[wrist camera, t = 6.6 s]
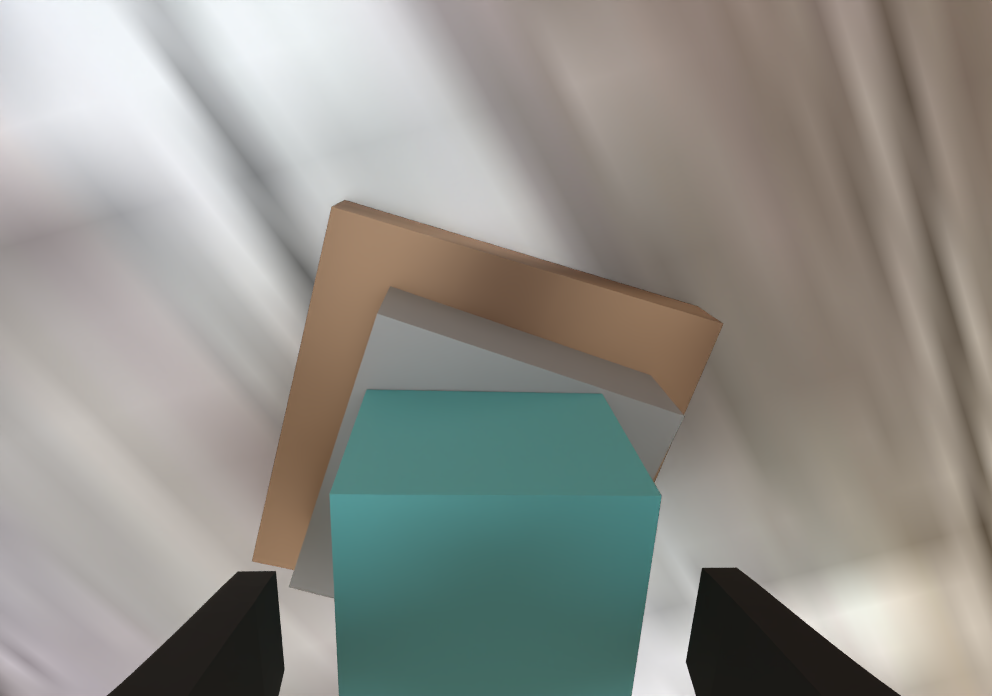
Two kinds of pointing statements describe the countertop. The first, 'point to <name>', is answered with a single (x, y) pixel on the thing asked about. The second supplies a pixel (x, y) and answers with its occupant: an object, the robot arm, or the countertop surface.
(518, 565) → the teal block
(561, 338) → the walnut base slab
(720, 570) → the robot arm
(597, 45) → the countertop surface
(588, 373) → the grey middle slab
